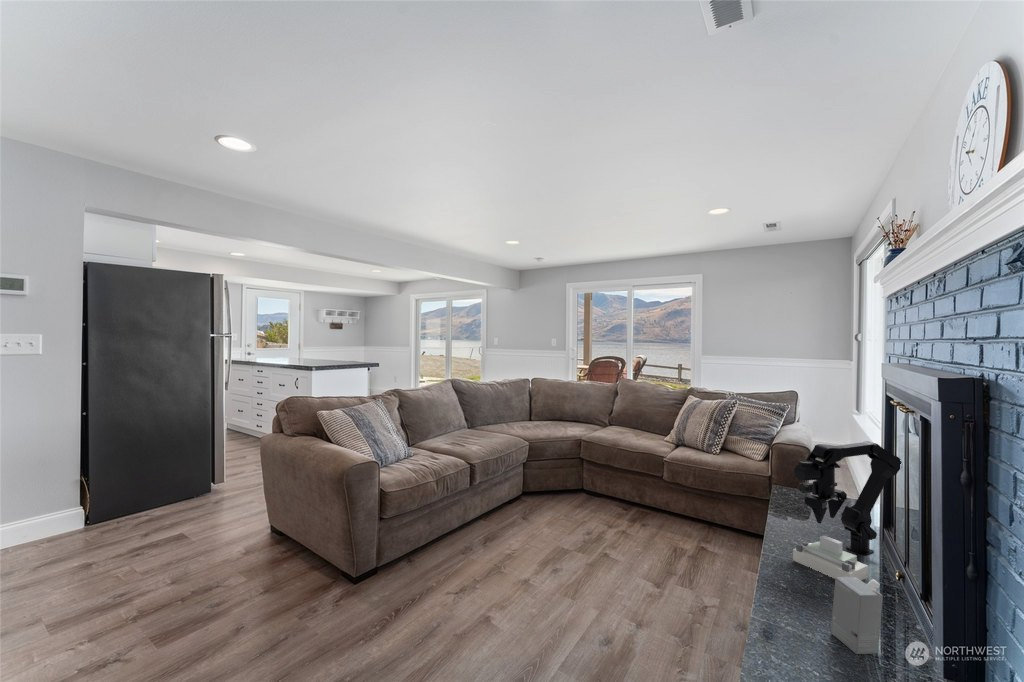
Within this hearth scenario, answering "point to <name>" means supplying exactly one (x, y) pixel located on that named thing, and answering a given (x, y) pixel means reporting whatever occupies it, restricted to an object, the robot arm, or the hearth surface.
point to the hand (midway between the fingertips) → (825, 520)
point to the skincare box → (856, 615)
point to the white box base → (829, 564)
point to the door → (830, 551)
